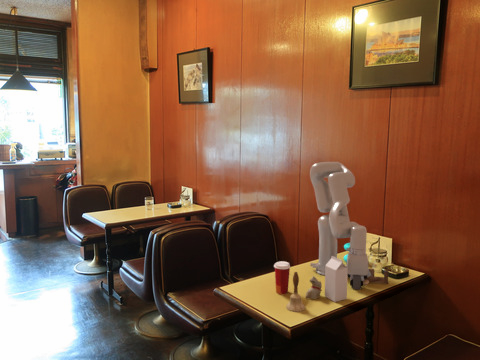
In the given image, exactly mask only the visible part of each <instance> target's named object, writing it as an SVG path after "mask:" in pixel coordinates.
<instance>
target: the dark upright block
mask: <svg viewBox="0 0 480 360" xmlns="http://www.w3.org/2000/svg"><path fill="white" fill-rule="evenodd" d="M360 286H361V275H353V288H352V290H358V291H361V289H360Z"/></svg>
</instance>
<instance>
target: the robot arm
mask: <svg viewBox="0 0 480 360" xmlns="http://www.w3.org/2000/svg"><path fill="white" fill-rule="evenodd" d="M309 179H310V181H311V184H312V188H313V190H314V196H315V201H316V205H317V210H318V211H319V212H320V213H329V214H324V215H322V216H320V217H319V218H318V220H317V226H318V227H317V228H318V237H319V241H318V243H319V244H318V245H319V246H318V262H316V263H314V262H310V267H312V268H313V269H314V268H315V273H317V274H318V275H322V276H325V265H326V264H327V263H328V262H329V260H330V259H331V256H333V257H336V258H338V239H346V238H349V239H350V240H349V243H350V247H349V248H347V250H346V251H347V254H348V256H347V262H346V264H345V266H346V267H348V275H347V279H349V286H351V289H353V275H361V286H360V290H361V289H362V288H363V287H364V285H363V281H364V280H365V279H366V278H367V277H369V276H371V273H370V271H369V269H370V268H369V257H368V254H367V233H368V232H367V228H366V226H364V225H360V224H359V223H357V222H356V221H350V220H351V219H350V215H349V211H348V210H349V209H348V206H347V205H348V204H349V203H350V201H351V200H350V199H351V198H350V196H349V191H348V188H352V187H354V186H355V184H356V177H355V175H354V173H353V172H352V171H351V170H350V169H348V168H347V167H346V166H345V165H344V164H343V163H342V162H339V161H323V162H322V161H321V162H317V163H314V164H312V165H311V167H310V169H309ZM326 179H327V180H326Z"/></svg>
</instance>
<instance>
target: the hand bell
mask: <svg viewBox="0 0 480 360" xmlns="http://www.w3.org/2000/svg"><path fill="white" fill-rule="evenodd" d="M292 283H293V284H292V285H293V293H292V294H290V297H289V299H290V300H289V302H288V303H287V304H286V307H285V308H286V309H287V310H288V311H289V312H295V313H299V312H303V311H305V309H306V306H305V305H304V304H303V301H302V296H301V294H299V291H298V289H299V287H298V286H299V283H300V277H299V273H298V272H297V271H294V273H293V275H292Z"/></svg>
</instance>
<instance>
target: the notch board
mask: <svg viewBox="0 0 480 360" xmlns="http://www.w3.org/2000/svg"><path fill="white" fill-rule="evenodd" d="M368 269H369V271H370V273H371V276H369V277H367V278H366V279H367V280H369V284H370V283H371V284H383V285H389V275H390V274H389V272H390V271H389V270H388V269H384V270H383V276H375V268H368Z"/></svg>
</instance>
